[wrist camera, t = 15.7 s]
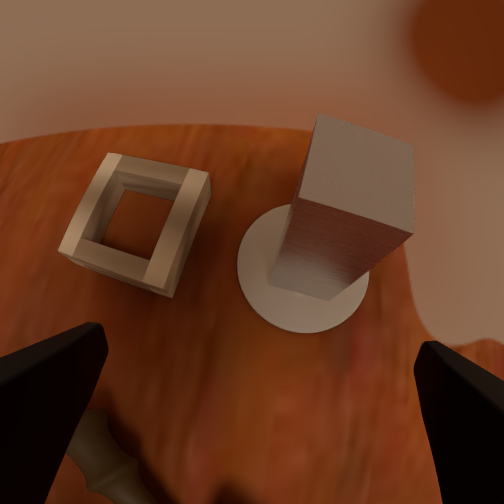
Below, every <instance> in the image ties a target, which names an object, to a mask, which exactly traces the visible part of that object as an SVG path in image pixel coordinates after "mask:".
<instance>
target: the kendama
mask: <svg viewBox="0 0 504 504" xmlns="http://www.w3.org/2000/svg"><path fill="white" fill-rule="evenodd" d="M66 453H67V454H68V455H69V456H70V457H71V458H72V460H73V461H74V462H75V463H76V464H77V466H78V467H79V468H80V469H81V471H82V473H83V474H84V476H85V479H86V487H87V489H88V490H89V491H90V492H95V493H99V494H102V495H104V496H105V497H107V498H108V499H110V500H111V501H113V502H114V503H115V504H157V502H156V501H155V500H154V498H153V497H152V495H151V494H150V493H149V491H148V490H147V488H146V487H145V485H144V483H143V481H142V480H141V477H140V475H139V472H138V464H139V460H138V459H137V458H136V457H133V456H130V455H128V454H126V453H125V452H124V451H123V450H122V449H121V448H120V447H119V446H118V444H117V443H116V441H115V440H114V438H113V436H112V435H111V433H110V430H109V427H108V414H107V412H106V411H105V410H104V409H90V410H87V411H84V413H83V416H82V418H81V420H80V422H79V424H78V426H77V428H76V430H75V433H74V435H73V437H72V439H71V441H70V444H69V446H68V448H67V450H66Z"/></svg>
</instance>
